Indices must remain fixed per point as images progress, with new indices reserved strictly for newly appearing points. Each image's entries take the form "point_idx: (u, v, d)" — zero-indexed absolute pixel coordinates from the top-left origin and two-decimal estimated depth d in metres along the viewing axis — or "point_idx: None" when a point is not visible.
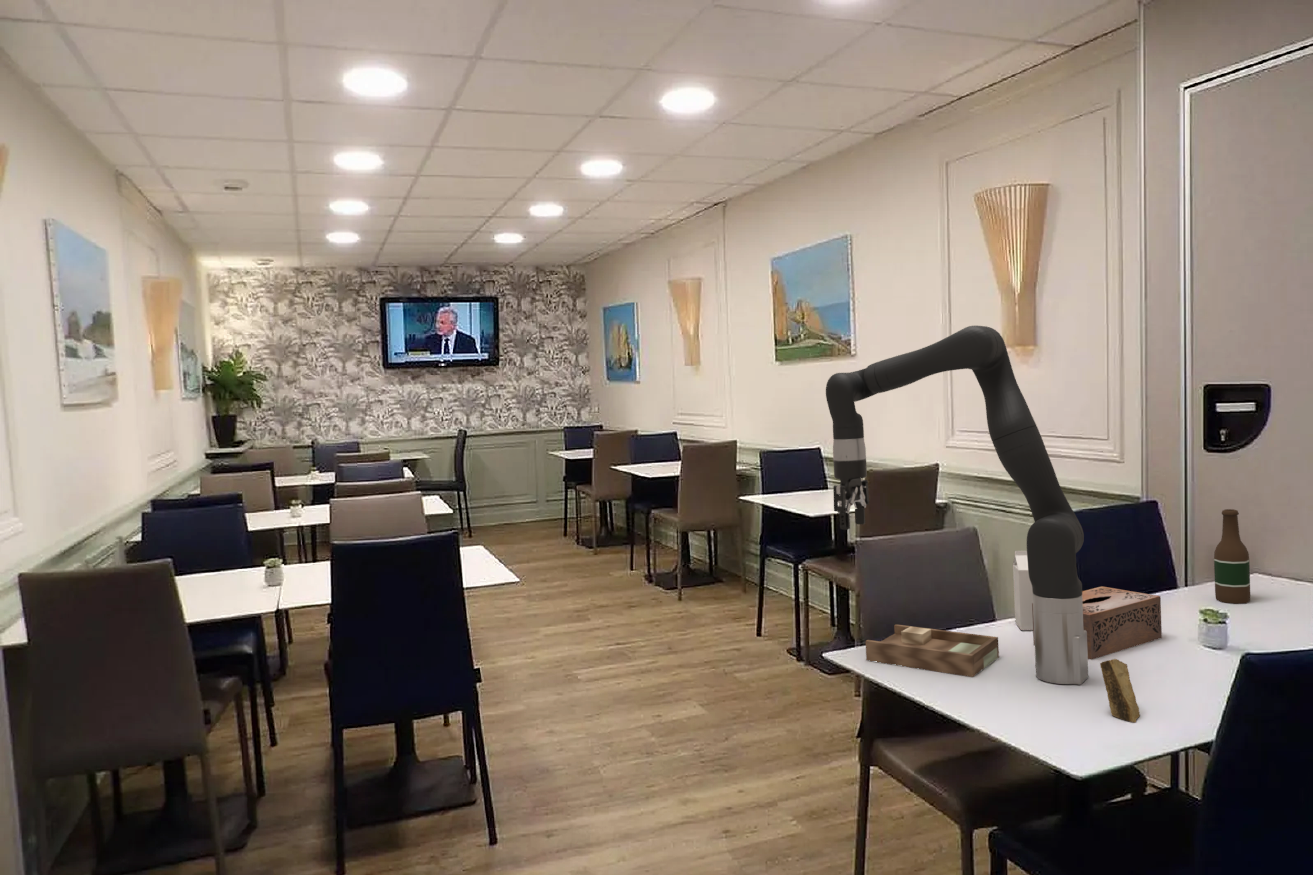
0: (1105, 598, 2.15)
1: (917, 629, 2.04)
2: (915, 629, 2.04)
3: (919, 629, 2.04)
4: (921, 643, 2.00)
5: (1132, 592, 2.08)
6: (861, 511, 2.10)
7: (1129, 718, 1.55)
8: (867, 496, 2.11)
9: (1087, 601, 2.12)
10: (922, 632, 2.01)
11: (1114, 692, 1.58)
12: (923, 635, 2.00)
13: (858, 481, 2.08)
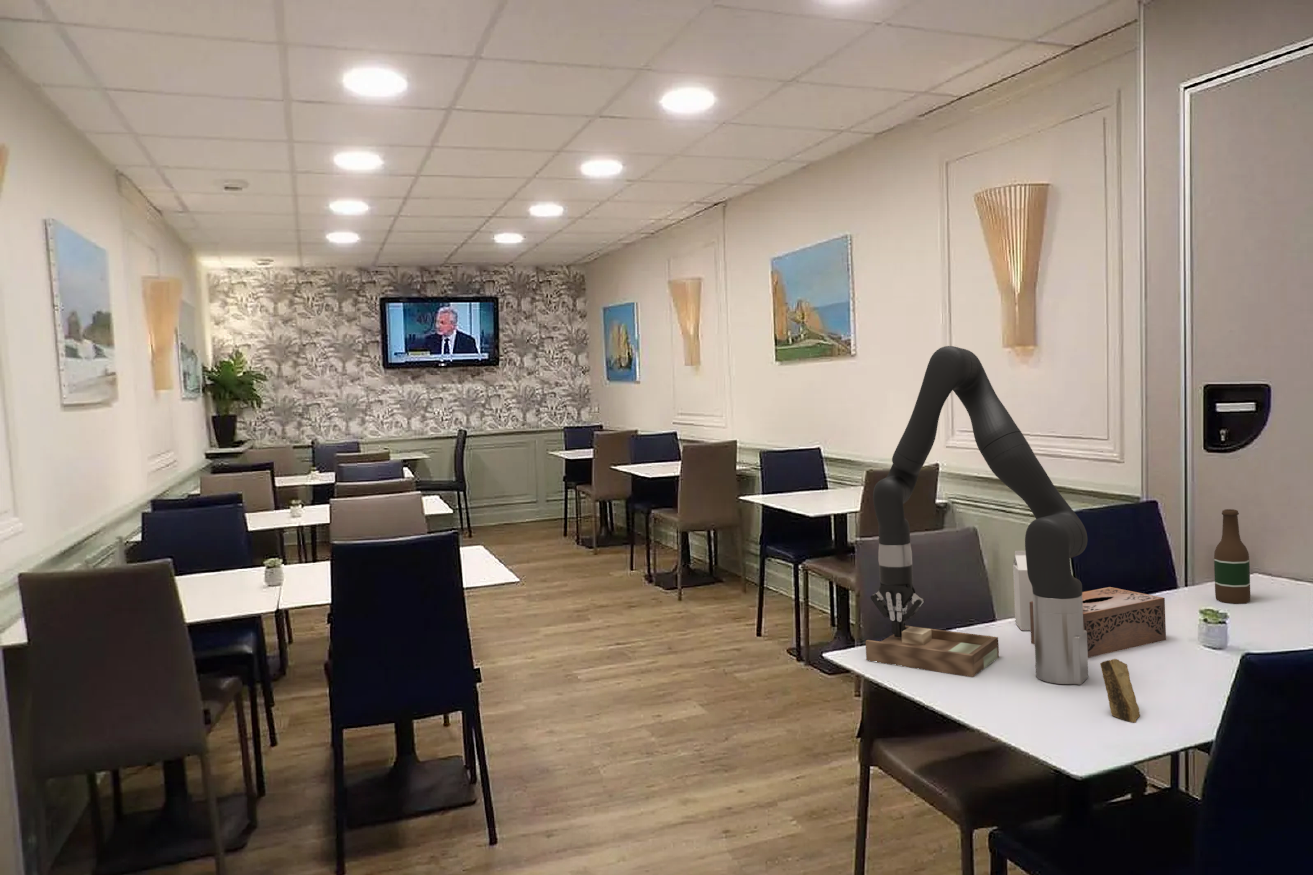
0: None
1: (918, 629, 2.04)
2: (915, 629, 2.04)
3: (919, 629, 2.04)
4: (921, 643, 2.00)
5: (1137, 593, 2.06)
6: None
7: (1129, 718, 1.55)
8: None
9: (1093, 601, 2.12)
10: (922, 632, 2.01)
11: (1114, 692, 1.58)
12: (923, 635, 2.00)
13: None
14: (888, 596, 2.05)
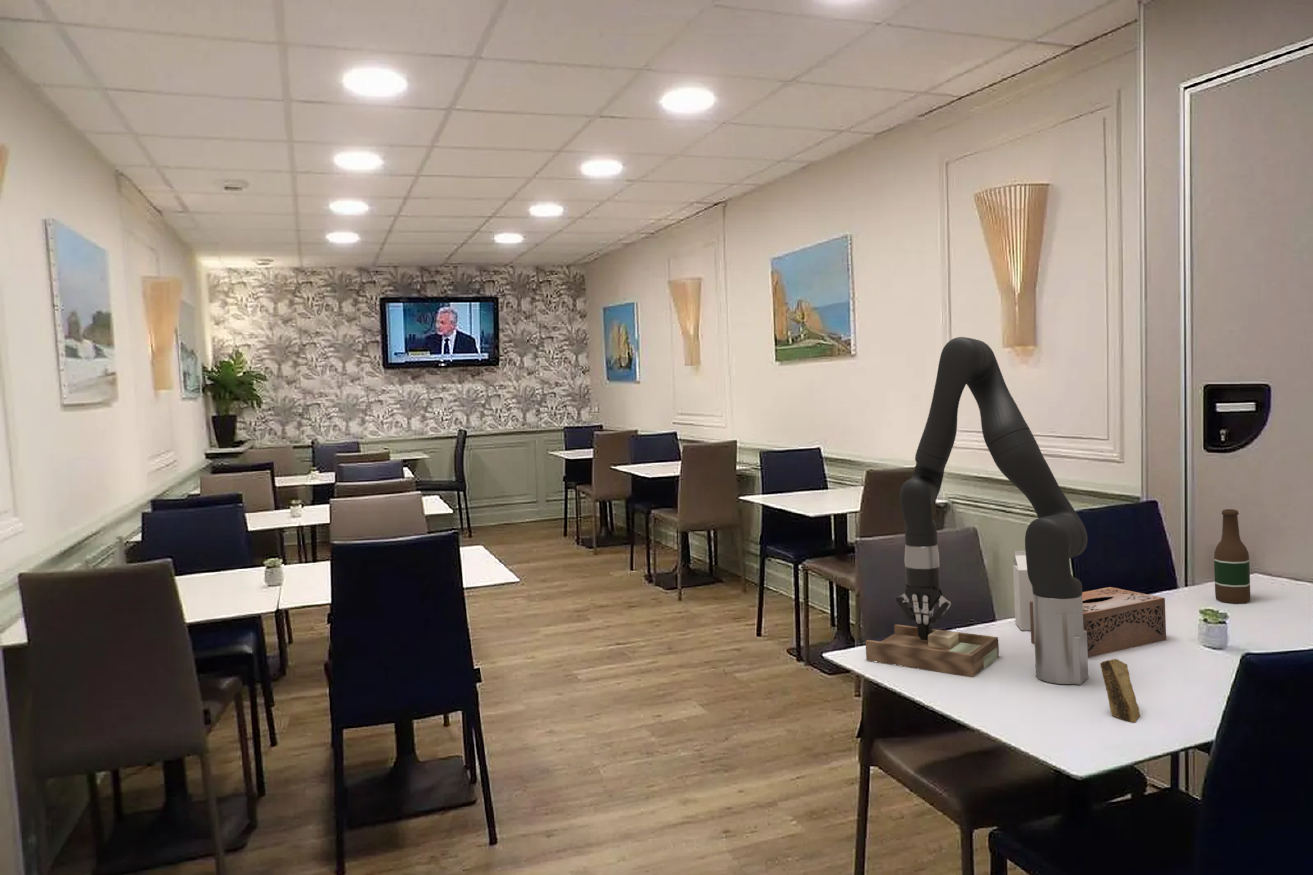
0: None
1: (944, 632, 2.00)
2: (942, 633, 2.00)
3: (946, 633, 1.99)
4: (948, 647, 1.96)
5: (1138, 593, 2.06)
6: None
7: (1129, 718, 1.55)
8: None
9: (1093, 601, 2.12)
10: (949, 636, 1.97)
11: (1114, 692, 1.58)
12: (950, 639, 1.96)
13: None
14: (914, 598, 2.01)
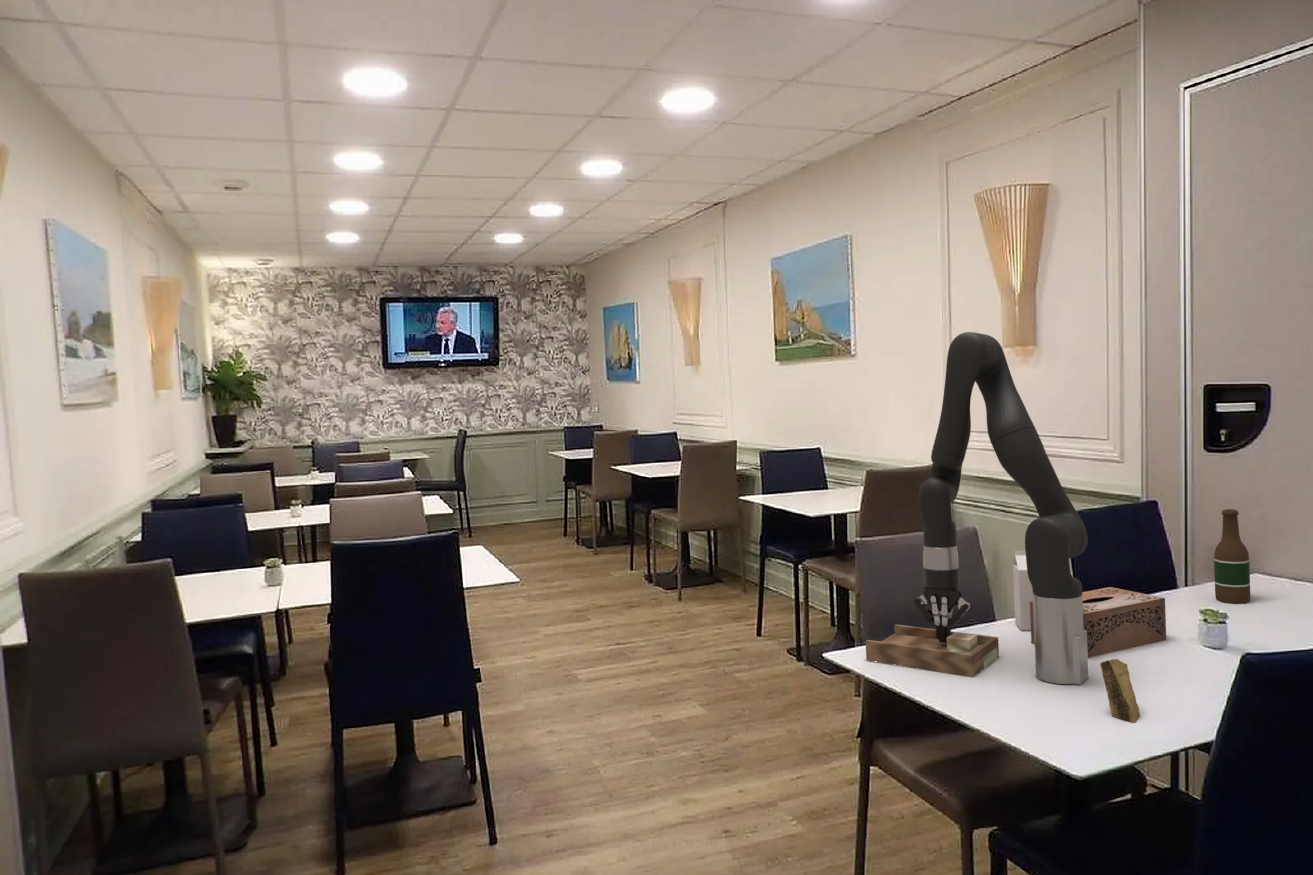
0: None
1: (963, 635, 1.97)
2: (961, 635, 1.97)
3: (965, 635, 1.97)
4: (968, 650, 1.93)
5: (1138, 593, 2.06)
6: None
7: (1129, 718, 1.55)
8: None
9: (1093, 601, 2.12)
10: (968, 638, 1.94)
11: (1114, 692, 1.58)
12: (970, 641, 1.93)
13: None
14: (933, 600, 1.98)
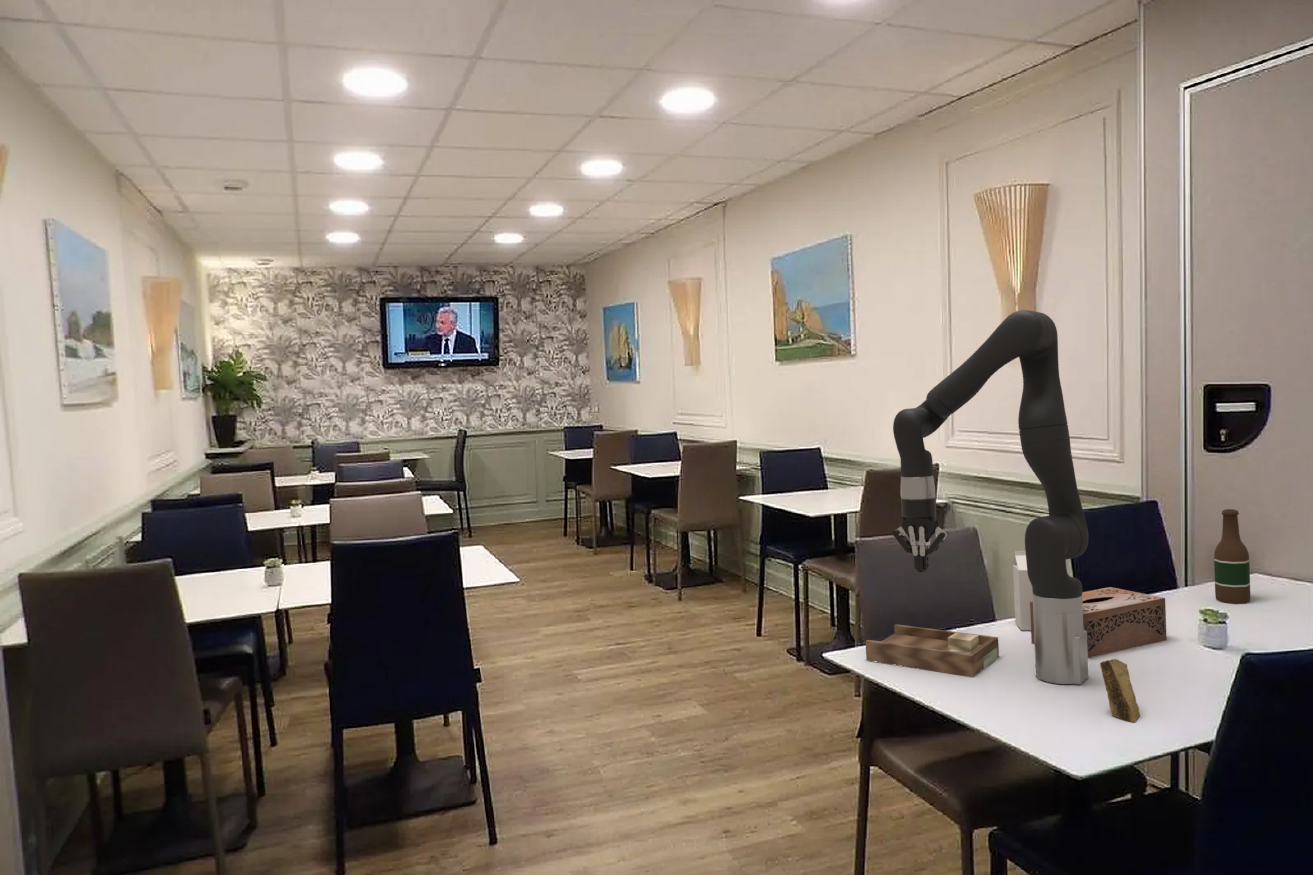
0: None
1: (964, 635, 1.97)
2: (962, 635, 1.97)
3: (966, 635, 1.96)
4: (969, 650, 1.93)
5: (1138, 593, 2.06)
6: None
7: (1129, 718, 1.55)
8: None
9: (1093, 601, 2.12)
10: (970, 638, 1.94)
11: (1114, 692, 1.58)
12: (971, 641, 1.93)
13: None
14: (911, 530, 2.00)
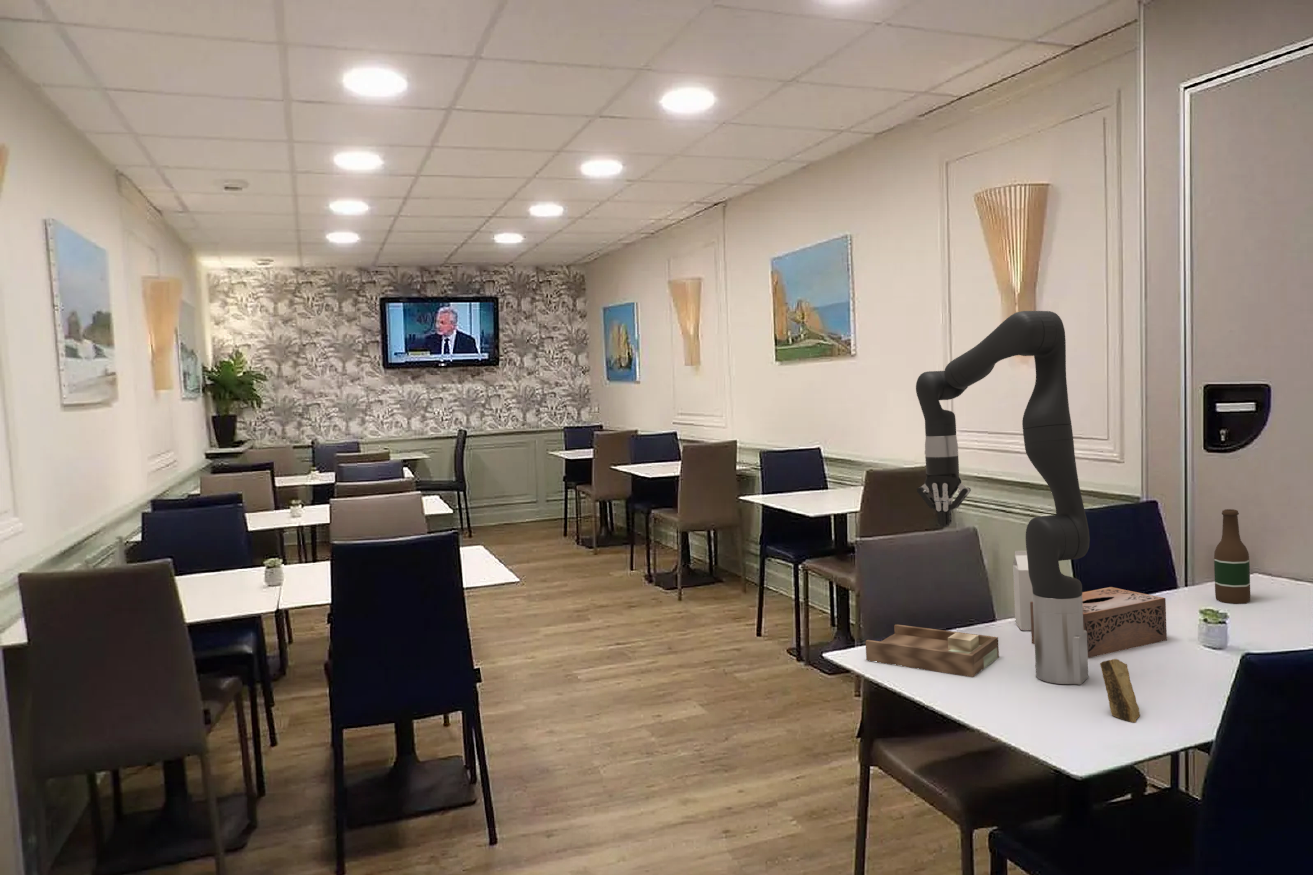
0: None
1: (964, 635, 1.97)
2: (962, 635, 1.97)
3: (966, 635, 1.96)
4: (969, 650, 1.93)
5: (1138, 593, 2.06)
6: None
7: (1129, 718, 1.55)
8: None
9: (1093, 601, 2.12)
10: (970, 638, 1.94)
11: (1114, 692, 1.58)
12: (971, 641, 1.93)
13: None
14: (934, 487, 2.11)
